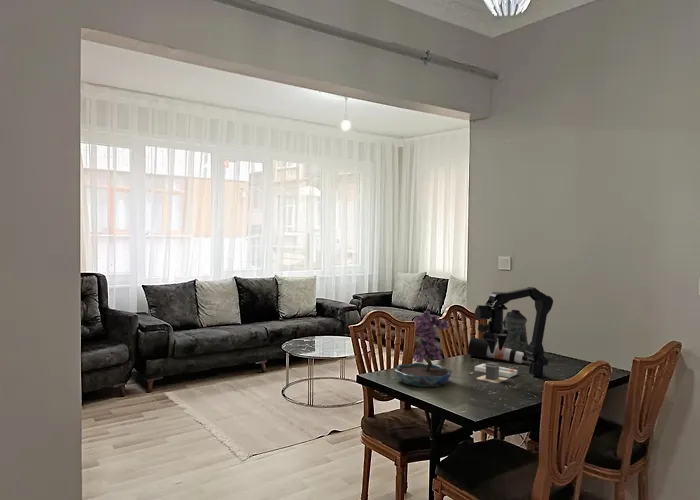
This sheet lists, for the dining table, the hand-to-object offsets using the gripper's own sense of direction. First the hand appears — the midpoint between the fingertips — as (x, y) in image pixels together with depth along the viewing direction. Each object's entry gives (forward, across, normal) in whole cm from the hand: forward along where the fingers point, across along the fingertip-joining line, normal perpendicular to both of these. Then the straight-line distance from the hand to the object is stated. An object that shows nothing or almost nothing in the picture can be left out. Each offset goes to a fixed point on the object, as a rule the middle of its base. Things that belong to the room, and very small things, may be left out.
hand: (496, 351), depth 253 cm
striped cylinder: (+13, -37, -14) cm, 42 cm away
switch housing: (+13, -6, -3) cm, 15 cm away
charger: (+12, +6, +1) cm, 13 cm away
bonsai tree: (+12, +27, -22) cm, 37 cm away
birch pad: (+12, +6, +1) cm, 14 cm away
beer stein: (+14, -60, -17) cm, 64 cm away
